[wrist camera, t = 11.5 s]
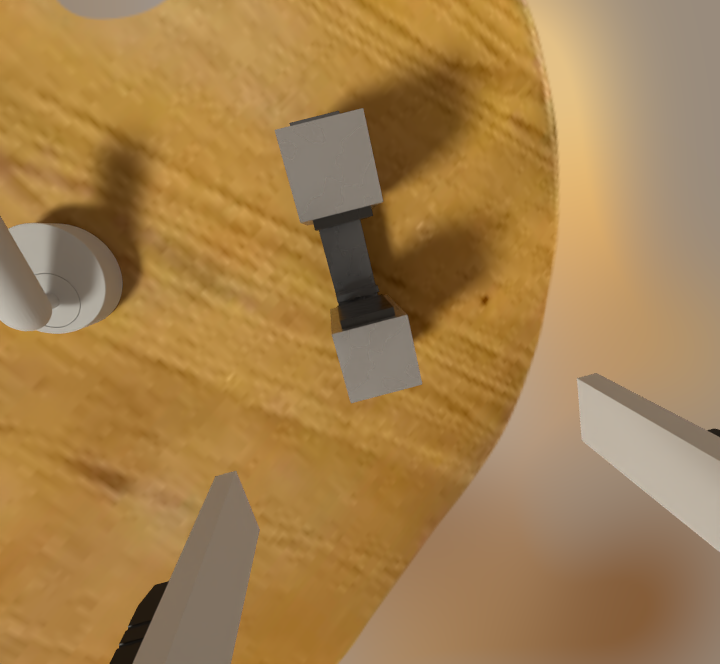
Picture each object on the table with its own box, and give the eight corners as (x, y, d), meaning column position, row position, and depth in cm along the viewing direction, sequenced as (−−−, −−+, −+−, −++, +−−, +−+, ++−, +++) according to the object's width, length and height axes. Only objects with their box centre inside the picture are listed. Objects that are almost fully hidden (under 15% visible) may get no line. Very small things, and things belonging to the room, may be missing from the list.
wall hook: (15, 195, 20) (51, 362, 23) (111, 206, 30) (129, 325, 32) (-157, 190, 20) (-99, 364, 22) (-4, 204, 29) (25, 326, 32)
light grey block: (399, 348, 32) (422, 384, 25) (344, 362, 32) (350, 403, 25) (385, 287, 31) (405, 305, 23) (328, 302, 31) (329, 325, 23)
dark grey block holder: (286, 144, 30) (266, 99, 20) (346, 130, 30) (356, 77, 20) (347, 367, 35) (356, 422, 25) (397, 354, 35) (426, 403, 25)
